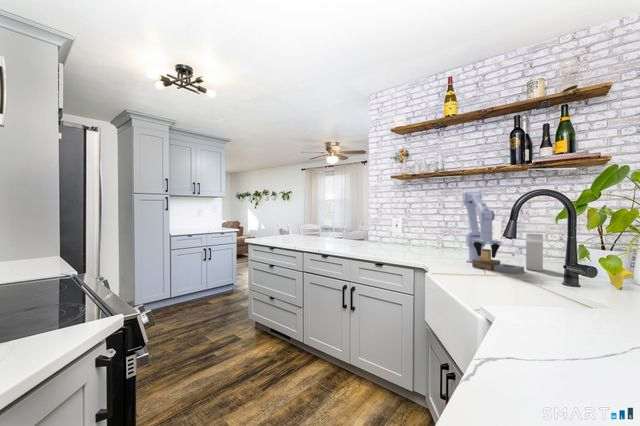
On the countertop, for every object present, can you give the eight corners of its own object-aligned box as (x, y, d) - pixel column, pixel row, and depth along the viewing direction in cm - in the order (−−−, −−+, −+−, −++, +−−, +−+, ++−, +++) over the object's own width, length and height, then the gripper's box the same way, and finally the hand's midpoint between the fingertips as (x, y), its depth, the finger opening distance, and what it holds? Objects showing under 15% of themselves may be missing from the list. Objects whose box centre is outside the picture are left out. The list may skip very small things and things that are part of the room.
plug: (484, 263, 163) (484, 248, 163) (491, 263, 160) (491, 249, 160) (481, 263, 161) (481, 249, 161) (487, 264, 158) (487, 250, 158)
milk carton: (542, 271, 150) (543, 234, 150) (526, 269, 155) (526, 234, 154) (542, 268, 156) (542, 233, 156) (526, 267, 160) (526, 233, 160)
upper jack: (481, 265, 168) (481, 258, 168) (500, 267, 159) (500, 260, 159) (472, 266, 162) (472, 259, 162) (490, 270, 154) (490, 262, 154)
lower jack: (503, 268, 158) (503, 263, 158) (524, 271, 150) (524, 266, 150) (493, 270, 153) (493, 265, 153) (515, 274, 144) (515, 269, 144)
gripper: (469, 231, 164) (469, 255, 165) (496, 233, 152) (496, 259, 152) (476, 231, 168) (476, 254, 168) (503, 232, 156) (503, 257, 156)
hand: (486, 256), depth 161 cm, fingers open, 7 cm apart
